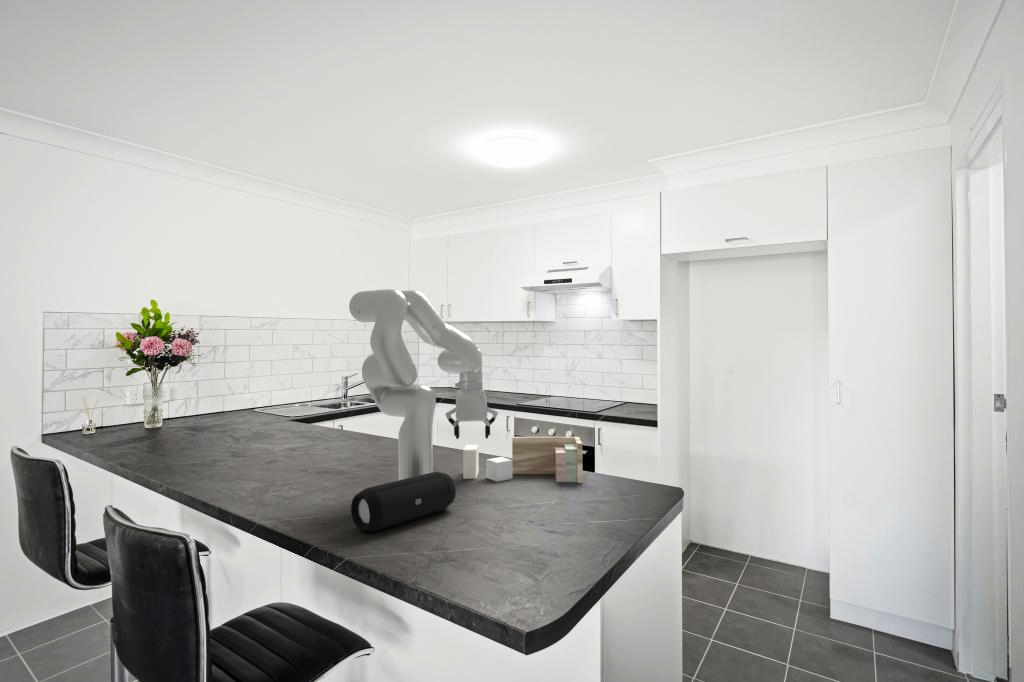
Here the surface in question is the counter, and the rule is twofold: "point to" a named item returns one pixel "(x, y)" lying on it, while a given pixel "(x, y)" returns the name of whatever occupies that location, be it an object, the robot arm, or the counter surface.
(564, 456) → the wide wooden block
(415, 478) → the portable speaker
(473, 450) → the white block
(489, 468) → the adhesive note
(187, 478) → the counter surface
